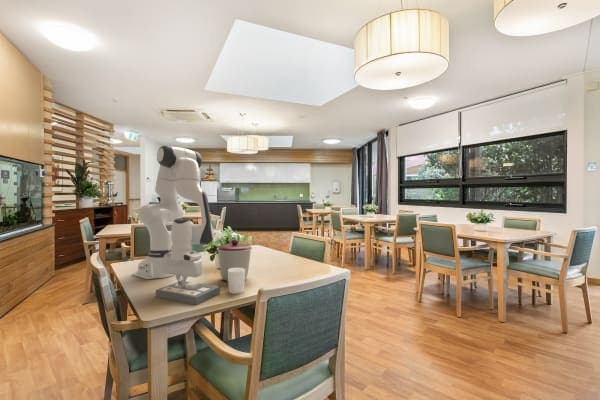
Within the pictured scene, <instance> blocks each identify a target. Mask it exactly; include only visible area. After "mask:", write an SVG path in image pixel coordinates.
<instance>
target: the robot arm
mask: <svg viewBox="0 0 600 400" xmlns="http://www.w3.org/2000/svg"><path fill="white" fill-rule="evenodd" d="M156 161H157V162H158V164H160V166H159V170H158V173H157V177H156V182H155V186H154V187H155V188H154V192H155V193H156V194H157V195H158V196H159V198H160V203H149V204H145V205H142V206H140V208H139V209H138V212H137V218H138V219H139V220H138V221H140V222H141V223H142V224H143V225H144V226H145V227H146V229H147V230H148V233H149V242H150V243H149V244H150V245H149V246H150V249H148V250H147V251H146V254H147V256H146V257H145V258H144V259H142V260H141V261H140V262H139V263H138V264H137V265H138V266H137V270H136V271H134V272H132V275H133V276H135V277H139V278H142V279H145V280H151V279H163V278H170V277H172V276H175V279H176V281H177V282H178V285H185V283H186V280H187V279H188V277H189V278H198V277H201V276H202V274H203V262H202V260H201V259H202V254H201V253H200V252H198V251H196V250H194V249H193V245H205V246H207V245H209V244H211V243H212V242H213V241H214V237H215V230H214V226H213V224H212V223H213V222H212V217H211V211H210V206H209V199H208V196H207V193H206V191H204V190H203V189H202V186H201V182H200V169H199V168H200V167H201V166H202V164H203V163H202V162H203V157H202V155H201V153H199V152H198V151H195V150H191V149H188V148H185V147H177V146H171V145H161V146H160V147H159V148H158V150H157V152H156ZM178 195H179V196H180V197H182V198H183V199H185V200H187V201H188V200H189V201H191V202H193V203H195V204H196V205H198V206H199V209H200V215H201V216H200V217H201V221H202V223H198V224H196V223H195V224H194V223H192V222H191V219H190V218H188V217H187V218H185V217H183V216H184V208H183V207H182V205H181V204H180V203H179V200H178V199H179V198H178ZM171 223H172V225H171V231H169V230H168V229H167V225H166V224H171Z"/></svg>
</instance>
